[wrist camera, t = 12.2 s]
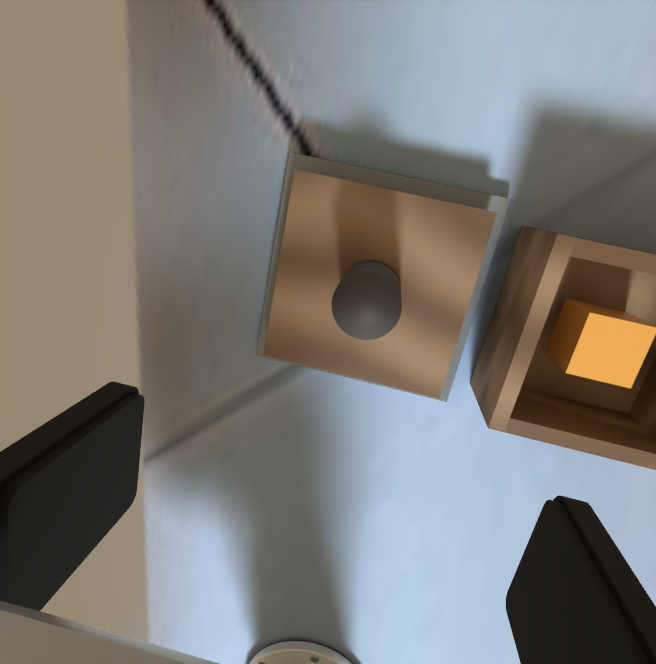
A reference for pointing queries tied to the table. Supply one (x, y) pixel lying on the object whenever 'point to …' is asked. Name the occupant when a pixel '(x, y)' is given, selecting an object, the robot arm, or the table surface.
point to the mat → (400, 185)
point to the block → (600, 343)
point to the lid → (374, 281)
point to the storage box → (543, 373)
